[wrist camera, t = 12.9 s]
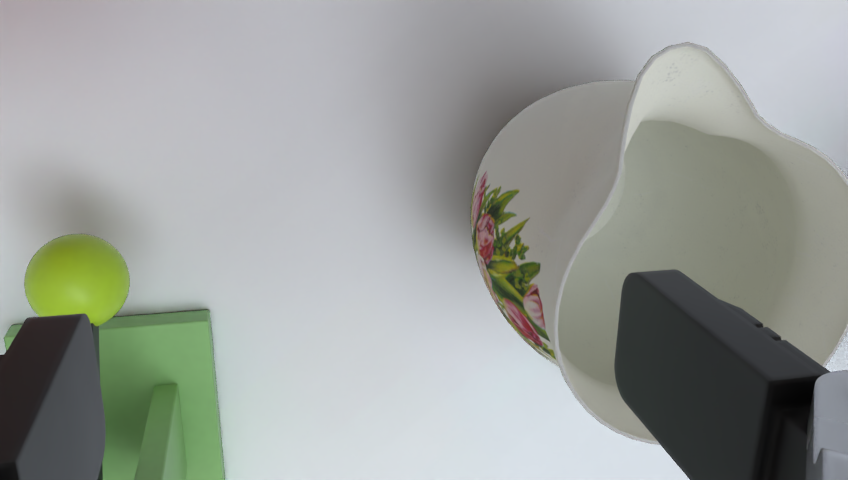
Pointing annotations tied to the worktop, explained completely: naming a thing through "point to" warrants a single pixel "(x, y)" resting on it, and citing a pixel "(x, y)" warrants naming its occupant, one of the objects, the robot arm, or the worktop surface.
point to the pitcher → (656, 217)
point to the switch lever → (78, 282)
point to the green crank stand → (158, 397)
